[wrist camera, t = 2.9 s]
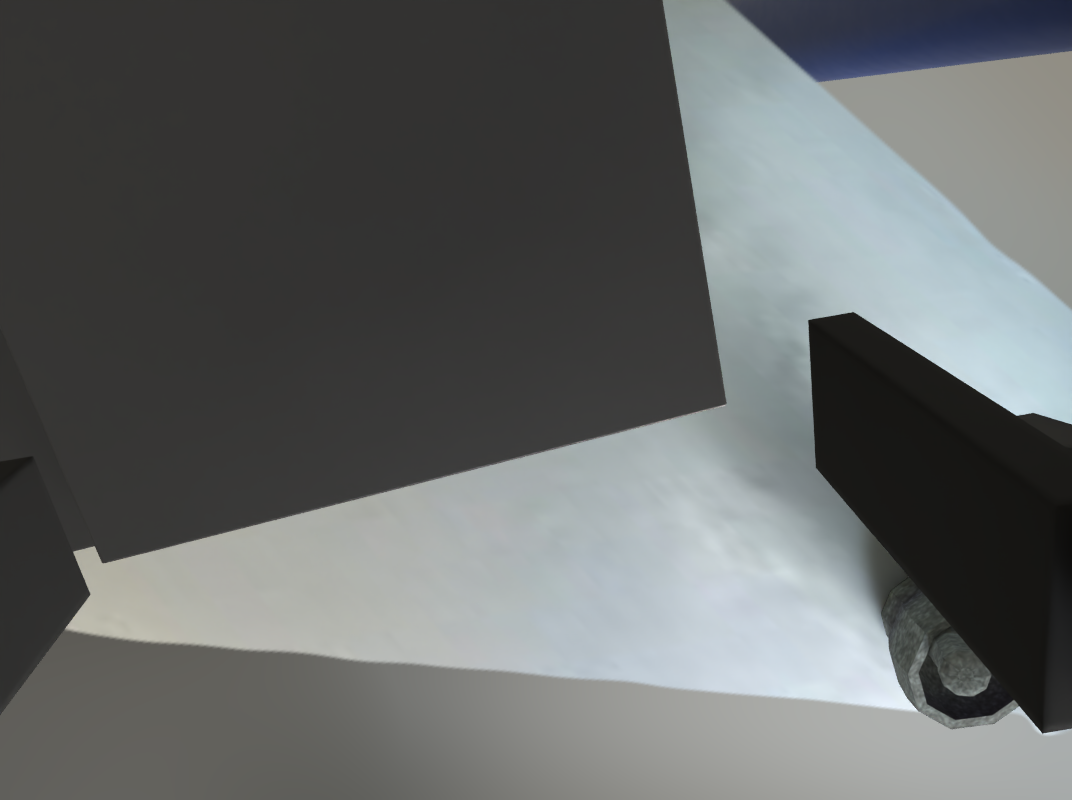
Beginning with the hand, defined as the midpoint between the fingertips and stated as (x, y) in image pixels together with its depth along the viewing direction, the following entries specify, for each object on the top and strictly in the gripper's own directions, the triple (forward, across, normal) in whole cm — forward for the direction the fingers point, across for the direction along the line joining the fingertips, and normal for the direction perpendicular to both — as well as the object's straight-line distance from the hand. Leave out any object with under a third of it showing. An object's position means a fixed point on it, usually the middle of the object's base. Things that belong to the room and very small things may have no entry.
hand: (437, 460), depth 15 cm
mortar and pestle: (+38, +26, -34) cm, 57 cm away
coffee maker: (+37, -6, +1) cm, 38 cm away
